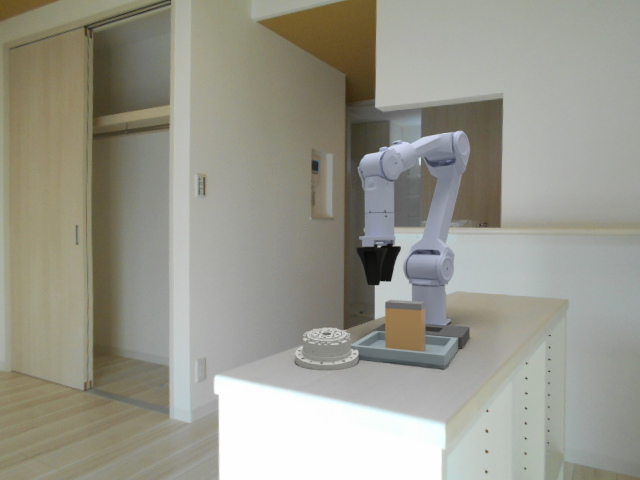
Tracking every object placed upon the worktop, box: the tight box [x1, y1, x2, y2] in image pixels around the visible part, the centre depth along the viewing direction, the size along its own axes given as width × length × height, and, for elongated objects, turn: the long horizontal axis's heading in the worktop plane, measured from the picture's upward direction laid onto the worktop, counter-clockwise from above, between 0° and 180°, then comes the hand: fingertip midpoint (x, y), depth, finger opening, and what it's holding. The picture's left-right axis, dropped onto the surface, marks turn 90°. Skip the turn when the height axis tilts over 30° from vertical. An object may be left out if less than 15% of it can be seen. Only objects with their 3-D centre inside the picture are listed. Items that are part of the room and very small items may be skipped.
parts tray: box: [351, 331, 459, 370], centre depth 76 cm, size 13×15×2 cm
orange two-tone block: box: [384, 299, 426, 352], centre depth 76 cm, size 3×6×8 cm, turn 65°
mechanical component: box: [294, 327, 360, 371], centre depth 72 cm, size 10×4×10 cm
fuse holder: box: [372, 323, 471, 350], centre depth 87 cm, size 10×16×2 cm, turn 65°
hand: (379, 283), depth 89 cm, fingers open, 7 cm apart
